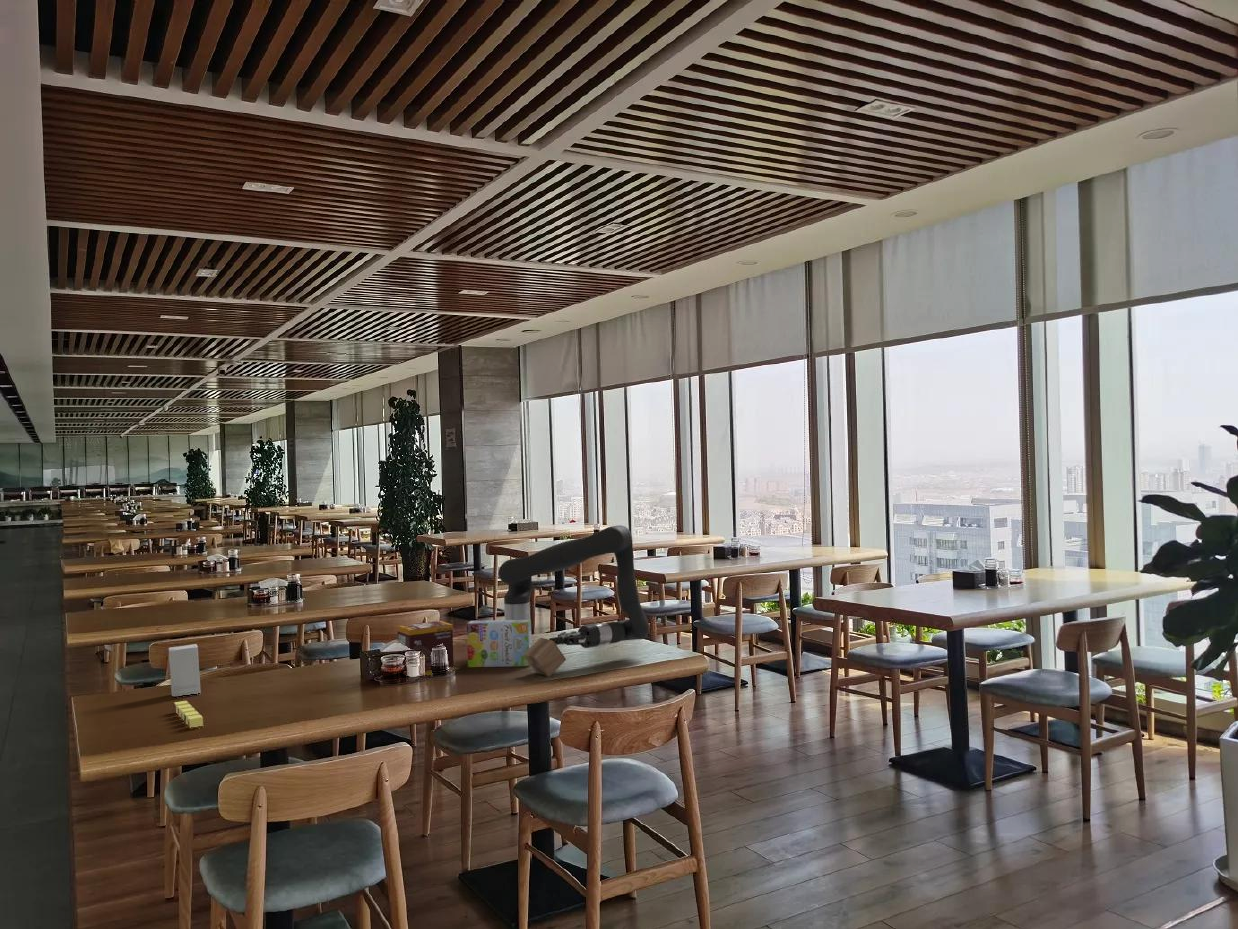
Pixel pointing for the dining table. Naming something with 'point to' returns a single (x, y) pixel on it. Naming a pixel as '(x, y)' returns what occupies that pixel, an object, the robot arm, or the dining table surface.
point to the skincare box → (184, 670)
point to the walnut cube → (545, 657)
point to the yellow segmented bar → (188, 714)
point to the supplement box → (428, 639)
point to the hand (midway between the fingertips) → (550, 641)
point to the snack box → (498, 643)
